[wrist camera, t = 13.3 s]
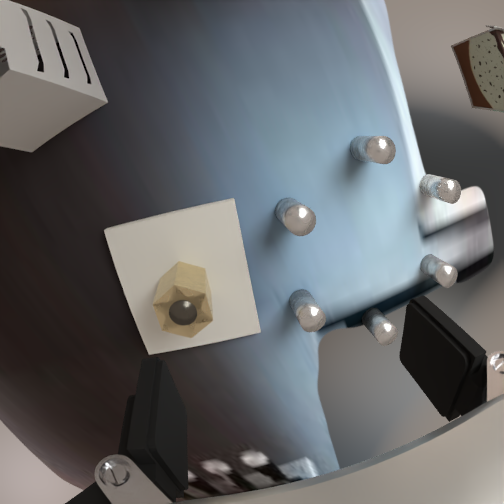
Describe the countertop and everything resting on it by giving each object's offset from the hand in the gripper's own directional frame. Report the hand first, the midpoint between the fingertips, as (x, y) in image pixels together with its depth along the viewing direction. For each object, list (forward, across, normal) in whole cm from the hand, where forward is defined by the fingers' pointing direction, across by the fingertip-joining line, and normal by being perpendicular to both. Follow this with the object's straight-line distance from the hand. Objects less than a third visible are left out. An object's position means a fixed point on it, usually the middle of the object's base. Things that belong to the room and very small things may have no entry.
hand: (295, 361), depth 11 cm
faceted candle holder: (+22, +7, +7) cm, 24 cm away
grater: (+24, +17, -18) cm, 35 cm away
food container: (+25, -37, -15) cm, 47 cm away
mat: (+23, +7, +7) cm, 25 cm away
